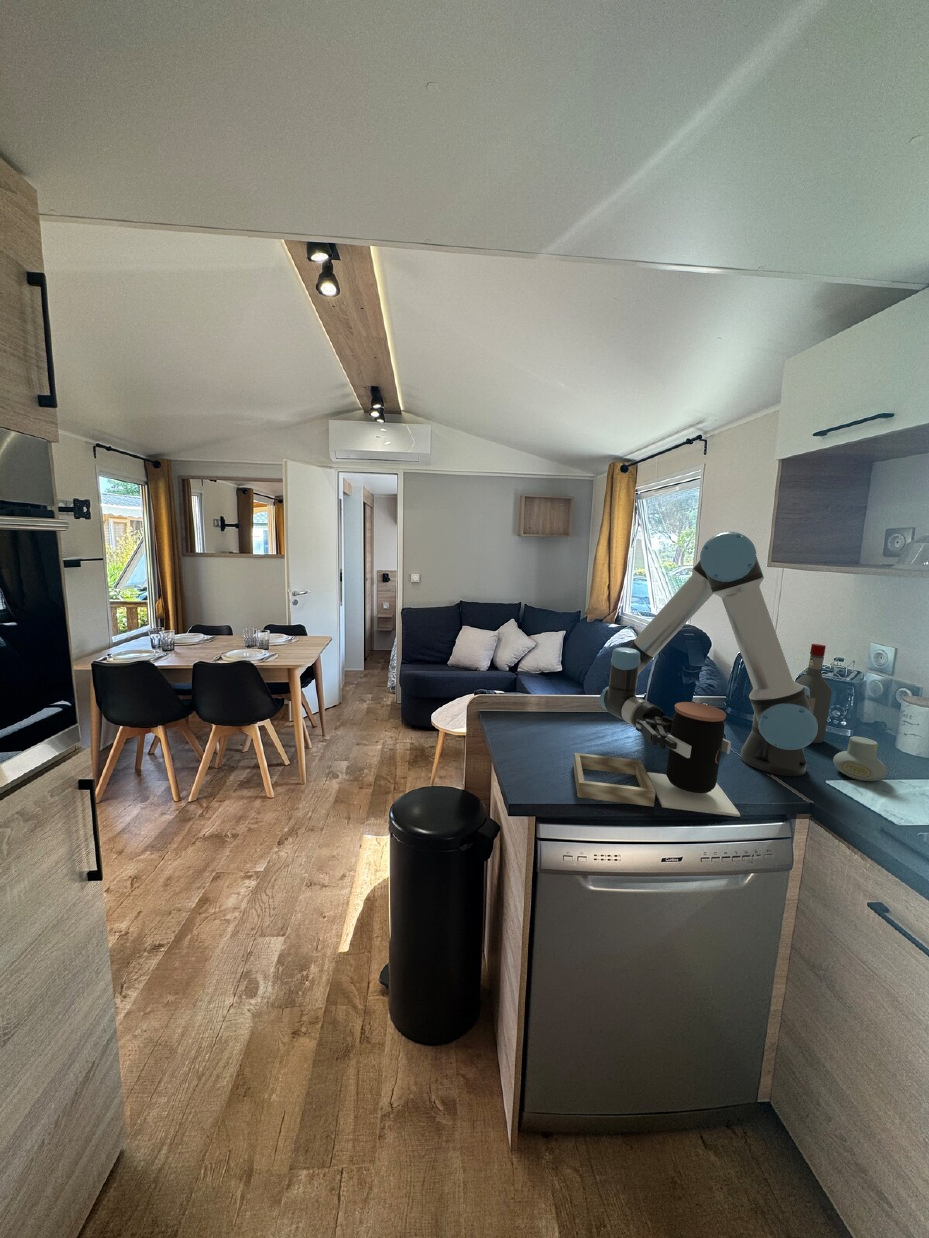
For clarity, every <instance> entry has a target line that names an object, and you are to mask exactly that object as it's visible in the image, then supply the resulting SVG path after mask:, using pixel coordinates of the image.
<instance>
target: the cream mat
mask: <svg viewBox="0 0 929 1238" xmlns="http://www.w3.org/2000/svg"><path fill="white" fill-rule="evenodd" d="M646 772H647V771H646ZM647 775H648V777H649V779H650V781H651V783H652V785H653V787H654V790H655V796H656V797H657V799H658V801H659V803H660V806H661V808H665V809H666V808H667V809H674V810H683V811H689V812H690V811H692V812H698V813H706V814H714V815H720V816H721V815H723V816H731V817H736V818H737V817H738V818H740V817H741V814H740V812H739V810H738V809H737V807H736V806H735V805H734V804H733V802H732V801H731V800H730V799H729V797H728V796H727V794H726V793H725V792H724V790H723V789H722V787H720V785H719V784H718V783H717V782H716V786H715V787H714V789H713V790H711V791H710V792H708V793H693V792H688V791H685V790H682V789H680V788H678V787H676V786H674V785H673V784H671V783H670V781H669V780H668V778H667V775H666V774H664V773H657V772H650V771H649V772H647Z"/></svg>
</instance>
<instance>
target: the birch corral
mask: <svg viewBox="0 0 929 1238" xmlns="http://www.w3.org/2000/svg"><path fill="white" fill-rule="evenodd" d="M573 755H574V756H573V763H572V765H573V772H574V780H575V787H576V792H577V798H581V799H592V800H596V801H606V802H613V803H622V804H630V805H639V806H646V807H655V799H656V793H655V790H654V787H653V785H652V783H651V781H650V779H649V777H648V775H647V770H646V768H645V766H644V764H643V762H642V760H640V759H634V758H624V757H615V756H606V755H605V756H604V755H597V754H587V753H578V752H574V754H573ZM583 770H591V771H598V772H599V771H600V772H608V773H617V774H623V775H634V776H635V777H636V780H637V782H638V785H639V786H632V785H623V784H615V783H614V784H613V783H608V782H607V783H605V782H599V781H598V782H597V781H591V780H590V781H589V780H585V779H584V772H583Z"/></svg>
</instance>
